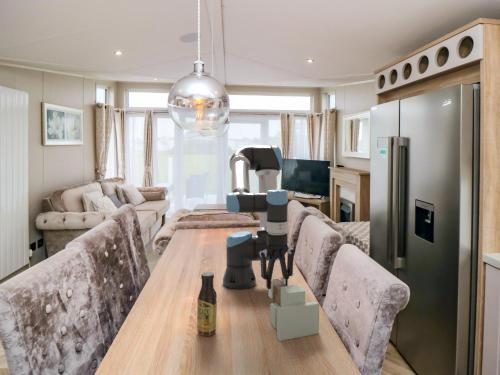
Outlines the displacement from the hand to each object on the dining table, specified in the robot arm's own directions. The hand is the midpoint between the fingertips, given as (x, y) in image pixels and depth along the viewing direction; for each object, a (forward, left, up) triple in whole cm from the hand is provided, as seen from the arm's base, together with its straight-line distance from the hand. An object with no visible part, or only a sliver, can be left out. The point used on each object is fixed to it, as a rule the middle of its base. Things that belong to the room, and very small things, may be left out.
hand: (277, 296), depth 129 cm
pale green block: (+13, 0, -7) cm, 14 cm away
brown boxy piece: (+2, 0, -1) cm, 3 cm away
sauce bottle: (+5, -27, -7) cm, 28 cm away
